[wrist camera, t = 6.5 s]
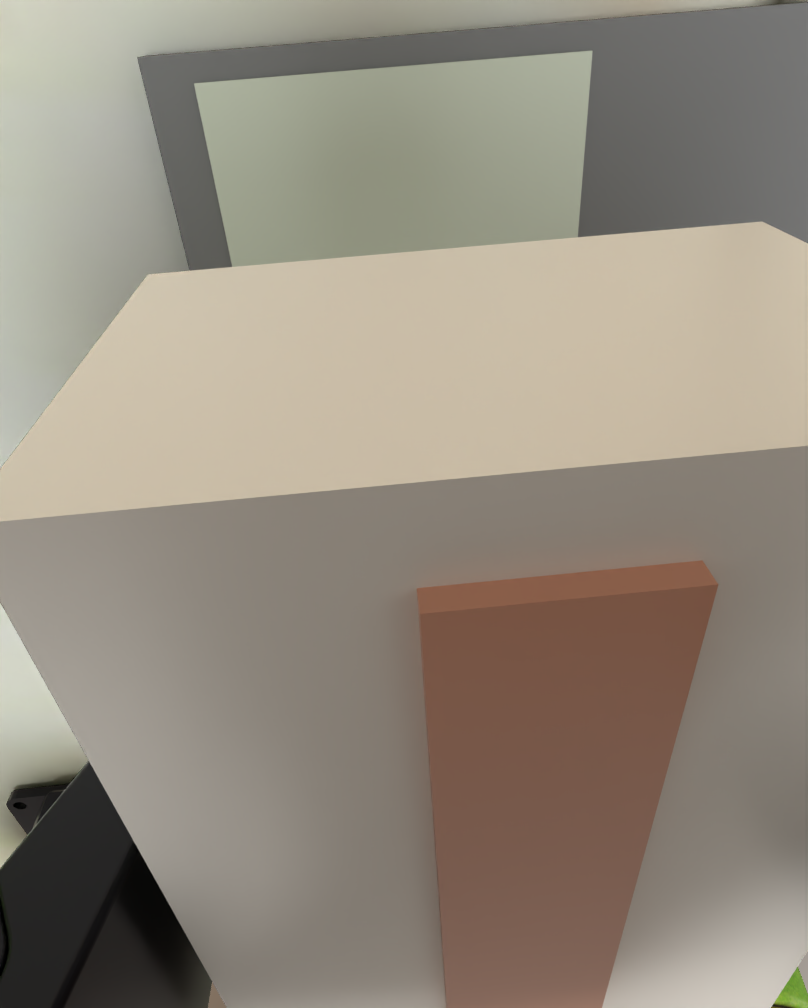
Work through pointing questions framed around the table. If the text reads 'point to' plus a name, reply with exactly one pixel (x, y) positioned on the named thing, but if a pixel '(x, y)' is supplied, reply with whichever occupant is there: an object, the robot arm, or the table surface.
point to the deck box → (445, 616)
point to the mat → (486, 135)
